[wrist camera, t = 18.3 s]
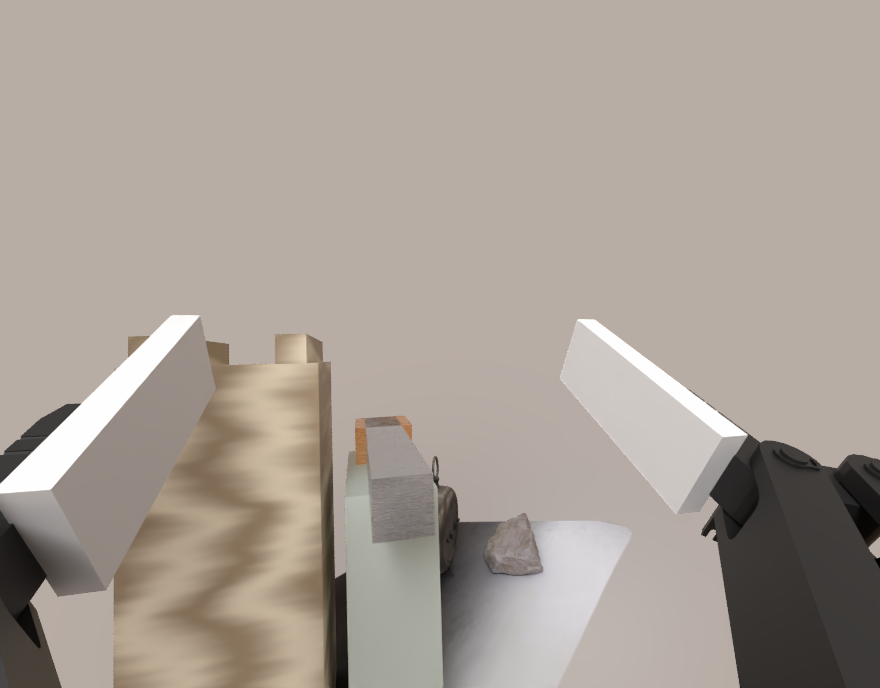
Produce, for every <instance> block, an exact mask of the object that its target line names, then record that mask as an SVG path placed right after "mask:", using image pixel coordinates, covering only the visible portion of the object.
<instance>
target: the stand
mask: <svg viewBox="0 0 880 688" xmlns="http://www.w3.org/2000/svg"><path fill="white" fill-rule="evenodd" d="M149 337H150V336H136V337H128V358H129V357H130V356H131V355H132V354H133V353H134V352H135V351H136V350H137V349H138V348H139V347H140V346H141V345H142V344H143V343H144V342H145V341H146V340H147V339H148V338H149ZM206 346H207V350H208V355H209V360H210V364H211V369H212V373H213V378H214V383H215V387H216V389H215V391H214V393H213V395H212V397H211V399H210V400H209V402H208V404H207V406H206V408H205V410H204V411H203V413H202V415H201V417H200V419H199V421H198V422H197V424H196V426H195V428H194V430H193V432H192V433H191V435H190V437H189V439H188V441H187V443H186V444H185V446H184V448H183V450H182V452H181V454H180V456H179V457H178V459H177V461H176V463H175V465H174V467H173V468H172V470H171V472H170V474H169V476H168V478H167V479H166V481H165V483H164V485H163V487H162V489H161V490H160V492H159V494H158V496H157V498H156V500H155V501H154V503H153V505H152V507H151V509H150V511H149V512H148V514H147V516H146V518H145V520H144V522H143V524H142V525H141V527H140V529H139V531H138V533H137V535H136V536H135V538H134V540H133V542H132V544H131V546H130V547H129V549H128V551H127V553H126V555H125V557H124V558H123V560H122V562H121V564H120V566H119V568H118V569H117V571H116V573H115V575H114V688H335V686H336V671H337V668H336V617H335V566H334V514H333V464H332V414H331V413H332V412H331V367H330V365H331V364H330V363H331V362H323V356H322V355H323V352H322V342H321V341H319V340H317V339H315V338H313V337H311V336H309V335H307V334H276V335H275V364H250V365H229V344H224V343H217V342H209V341H206ZM116 370H117V369H115V370H114V372H115V371H116Z"/></svg>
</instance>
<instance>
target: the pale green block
mask: <svg viewBox="0 0 880 688" xmlns="http://www.w3.org/2000/svg"><path fill="white" fill-rule="evenodd" d="M433 483H434V481H433ZM434 517H435V535H434V536H426V537H419V538H411V539H404V540H397V541H389V542H382V543H375V544H373V542H372V529H371V515H370V502H369V489H368V476H367V464H362V465H356V451H352V452H349V457H348V468H347V480H346V490H345V532H346V581H347V629H348V677H349V688H443V658H442V625H441V591H440V557H439V523H438V490H437V486H436V484H435V483H434Z"/></svg>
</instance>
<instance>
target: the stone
mask: <svg viewBox="0 0 880 688" xmlns="http://www.w3.org/2000/svg"><path fill="white" fill-rule="evenodd" d="M487 543H488V544H487V546H486V549H485V551H484V558H485V559H486V561H487V563H488V565H489V568H490V570H491V572H493V573H506V574H510V575H524V574H528V573H531V574H536V573H539V572H540V571H541V572H542V571H543V567H542V565H541V564H540V558H539V556H538V549H537V546H536V542H535V539H534V535H533V532H532V530H531V527H530V523H529V520H528V518H527V515H526V514H525V513H523V514H521V515H518V517H517V518H512V519H510V520H507V522H503V523H500V524H499V525H498V528H497V529H496V530H495V533H494V535H493V536H492V537H490V538H489V540H488V542H487Z"/></svg>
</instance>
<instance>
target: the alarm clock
mask: <svg viewBox="0 0 880 688" xmlns="http://www.w3.org/2000/svg"><path fill="white" fill-rule="evenodd" d="M435 459H436V465H437V473H436V476H434V463H435ZM438 467H439V466H438V459H437V457H436V456H434V458H433V462H432V472H433V481H434V483H435V484H436V486H437V490H438V523H439V557H440V574H441V573H443V572H445V571H446V570H447V569H449V571H450V573H451V575H452V576H454V573H453V571H452V568H451V563H452V557H453V553H454V549H455V543H456V535H457V526H458V522H459V520H460V519H459V518H458V504H457V497H456V494H455V492H454V490H453V489H452V488H450V487H448V486H440V485H439V484H438V481H439V477H438V472H439V469H438Z"/></svg>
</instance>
